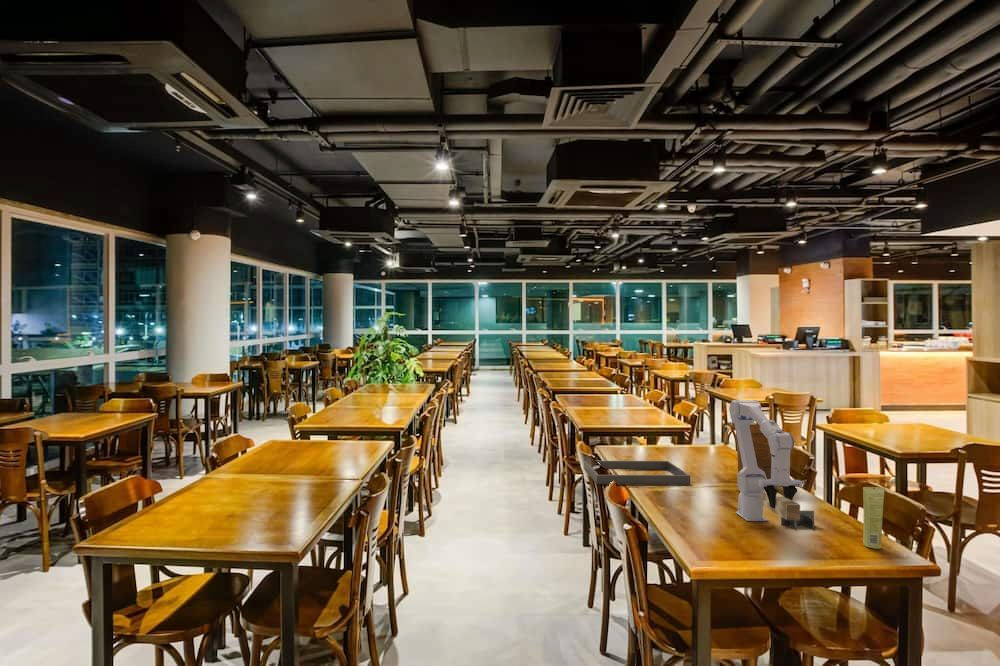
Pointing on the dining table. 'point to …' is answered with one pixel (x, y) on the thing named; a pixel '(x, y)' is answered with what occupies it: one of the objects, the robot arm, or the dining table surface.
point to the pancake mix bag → (758, 451)
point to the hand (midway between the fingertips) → (779, 507)
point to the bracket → (801, 520)
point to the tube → (873, 516)
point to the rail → (782, 506)
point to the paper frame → (677, 478)
